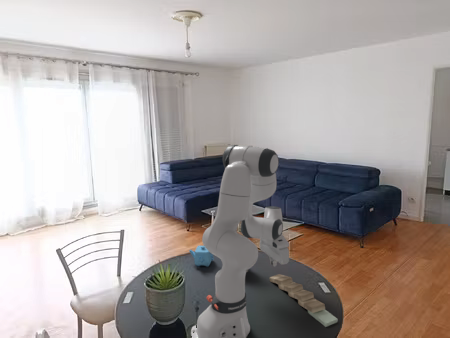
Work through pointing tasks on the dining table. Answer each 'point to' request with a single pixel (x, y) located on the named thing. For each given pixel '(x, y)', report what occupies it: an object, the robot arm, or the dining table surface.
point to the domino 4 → (312, 305)
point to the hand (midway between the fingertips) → (273, 265)
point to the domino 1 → (281, 279)
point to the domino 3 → (301, 295)
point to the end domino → (324, 317)
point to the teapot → (202, 256)
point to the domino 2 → (291, 287)
